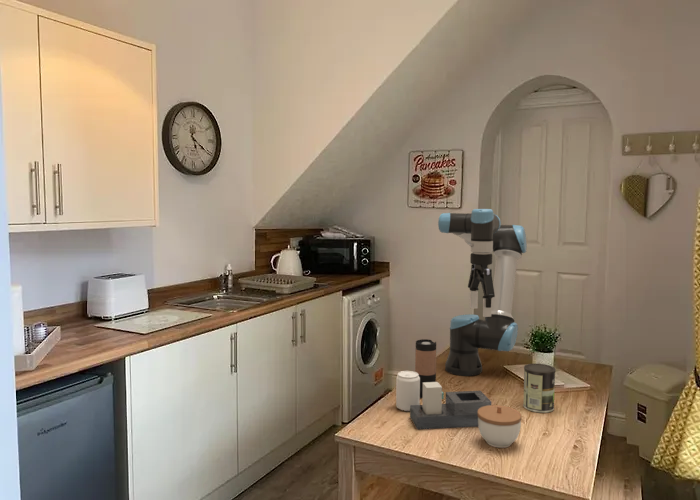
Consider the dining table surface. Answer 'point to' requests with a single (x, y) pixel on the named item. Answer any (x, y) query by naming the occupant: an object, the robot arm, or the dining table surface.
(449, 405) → the grey stepped socket block
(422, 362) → the travel mug
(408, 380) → the beverage can
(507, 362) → the dining table surface
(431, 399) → the plug
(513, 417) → the lidded bowl
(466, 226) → the robot arm
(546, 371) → the coffee can
